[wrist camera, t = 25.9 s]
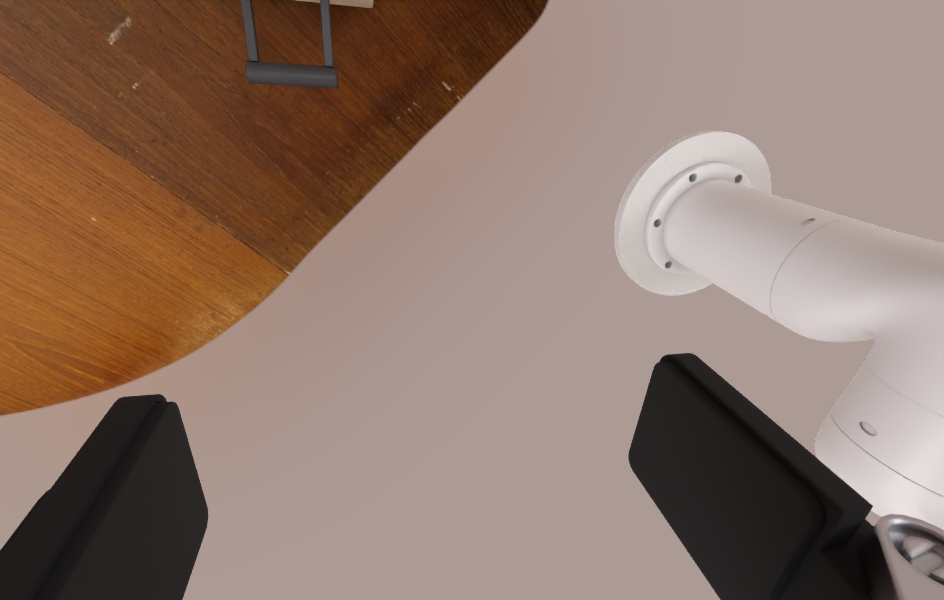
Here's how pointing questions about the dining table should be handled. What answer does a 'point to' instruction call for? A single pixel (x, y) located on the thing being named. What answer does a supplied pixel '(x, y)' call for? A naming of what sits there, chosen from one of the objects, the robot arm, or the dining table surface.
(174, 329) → the dining table surface
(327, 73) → the drawer
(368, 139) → the dining table surface
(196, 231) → the dining table surface
